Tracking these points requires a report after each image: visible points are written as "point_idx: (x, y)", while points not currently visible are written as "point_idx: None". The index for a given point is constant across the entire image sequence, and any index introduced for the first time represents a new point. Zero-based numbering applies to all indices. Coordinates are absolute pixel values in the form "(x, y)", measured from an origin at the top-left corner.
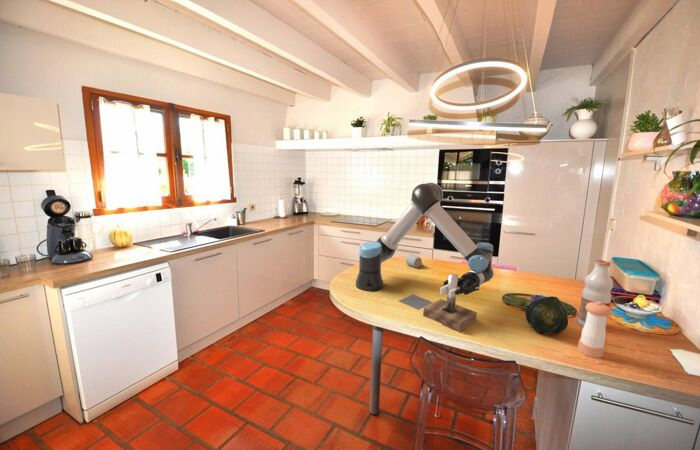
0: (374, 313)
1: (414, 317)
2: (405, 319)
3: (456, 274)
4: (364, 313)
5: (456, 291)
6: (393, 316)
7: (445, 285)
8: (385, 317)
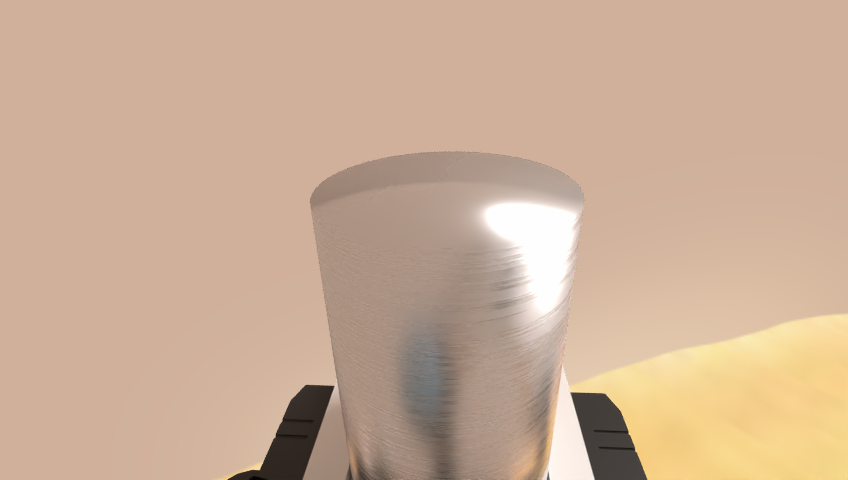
0: (808, 347)
1: (662, 476)
2: (659, 411)
3: (390, 243)
4: (818, 318)
5: (321, 385)
6: (731, 390)
7: (572, 400)
8: (731, 354)
